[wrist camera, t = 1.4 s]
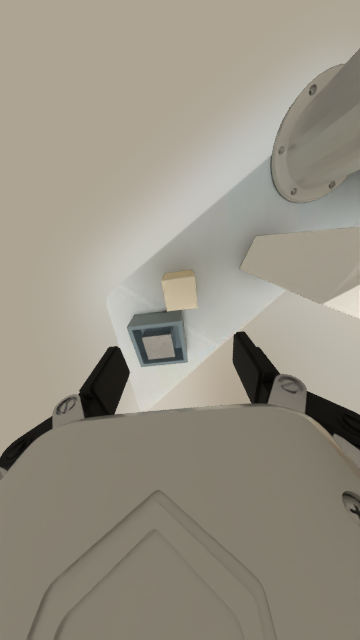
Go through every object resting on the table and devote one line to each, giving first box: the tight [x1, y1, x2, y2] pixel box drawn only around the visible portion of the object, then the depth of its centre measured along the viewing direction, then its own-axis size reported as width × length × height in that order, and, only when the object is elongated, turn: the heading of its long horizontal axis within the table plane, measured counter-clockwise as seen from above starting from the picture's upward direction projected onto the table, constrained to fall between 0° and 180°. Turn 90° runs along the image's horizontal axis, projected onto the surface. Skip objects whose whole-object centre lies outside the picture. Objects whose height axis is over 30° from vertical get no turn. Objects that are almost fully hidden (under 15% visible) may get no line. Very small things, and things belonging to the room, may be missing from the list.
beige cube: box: [161, 270, 198, 311], centre depth 27 cm, size 6×6×6 cm
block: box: [142, 326, 176, 359], centre depth 32 cm, size 6×6×5 cm
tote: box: [127, 310, 188, 367], centre depth 33 cm, size 11×11×6 cm
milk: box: [239, 227, 360, 319], centre depth 18 cm, size 6×6×22 cm
